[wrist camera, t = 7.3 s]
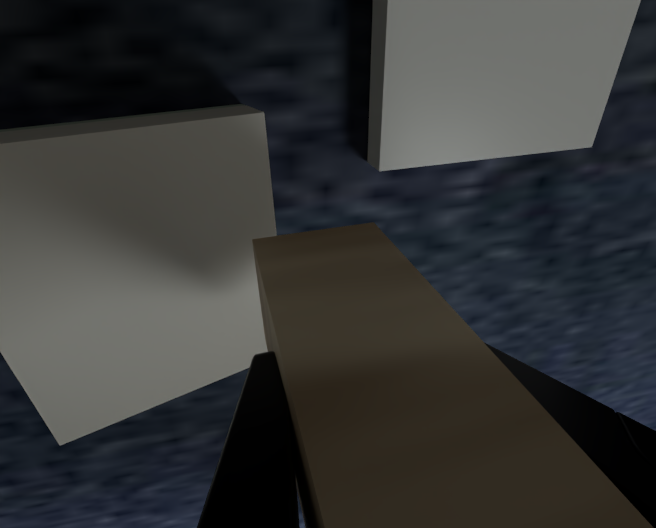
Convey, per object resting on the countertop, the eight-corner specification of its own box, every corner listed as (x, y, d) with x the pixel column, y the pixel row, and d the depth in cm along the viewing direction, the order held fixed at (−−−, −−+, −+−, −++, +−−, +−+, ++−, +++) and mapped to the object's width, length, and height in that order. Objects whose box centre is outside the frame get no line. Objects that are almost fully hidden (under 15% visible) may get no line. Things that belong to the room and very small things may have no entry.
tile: (288, 351, 14) (59, 445, 11) (270, 325, 15) (60, 404, 12) (264, 112, 9) (-123, 158, 6) (242, 103, 11) (-94, 139, 8)
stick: (368, 316, 11) (709, 891, 4) (264, 337, 10) (427, 1095, 3) (373, 222, 10) (984, 889, 2) (251, 239, 9) (523, 1310, 1)
